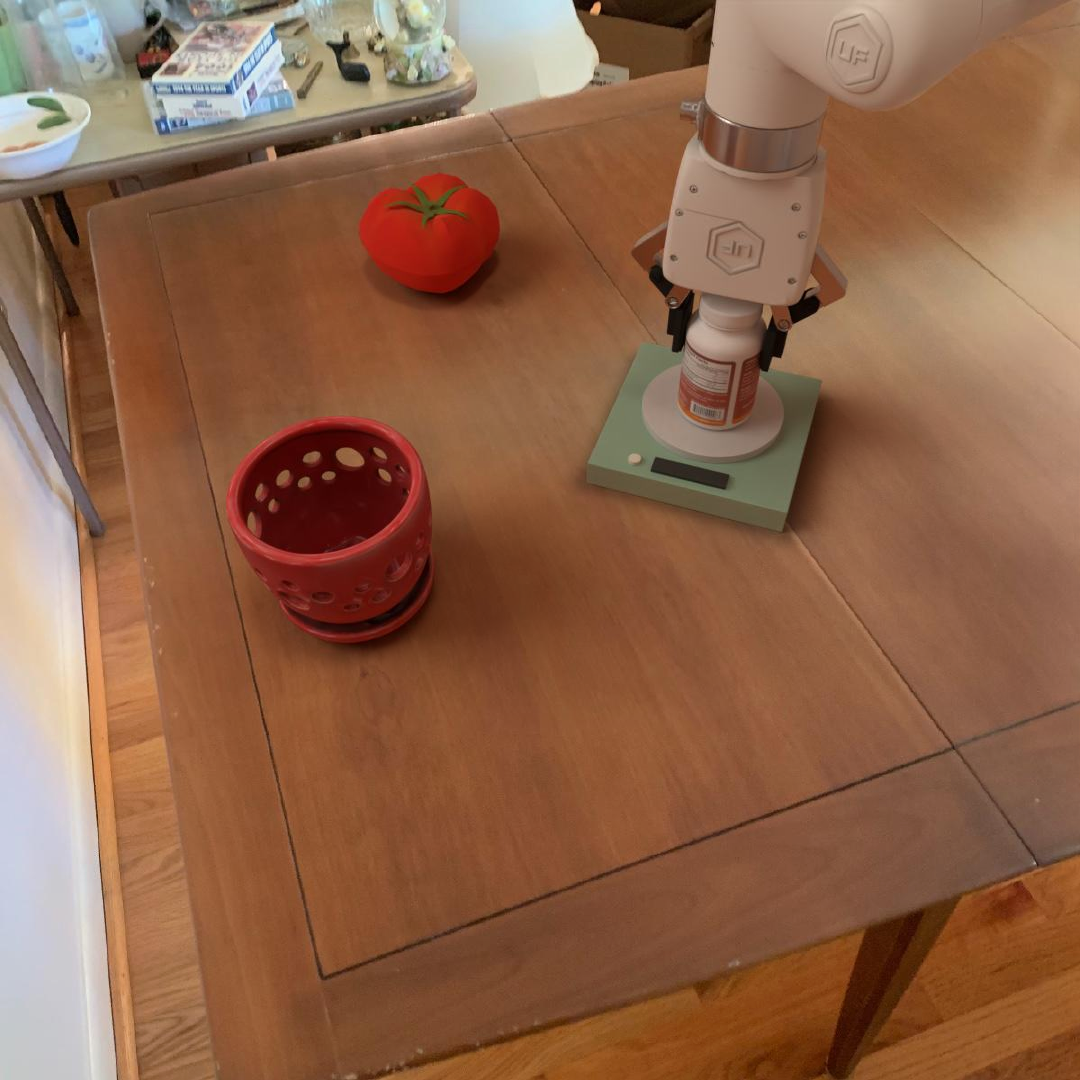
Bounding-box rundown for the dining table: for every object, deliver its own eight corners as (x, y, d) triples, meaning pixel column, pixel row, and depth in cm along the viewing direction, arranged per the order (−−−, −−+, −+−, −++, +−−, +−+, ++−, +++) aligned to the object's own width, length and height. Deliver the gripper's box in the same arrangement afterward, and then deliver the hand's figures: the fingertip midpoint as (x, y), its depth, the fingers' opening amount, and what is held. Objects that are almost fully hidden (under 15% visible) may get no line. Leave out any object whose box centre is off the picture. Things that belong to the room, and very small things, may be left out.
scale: (816, 400, 85) (824, 372, 83) (782, 533, 76) (789, 505, 73) (640, 361, 89) (643, 333, 86) (586, 483, 79) (587, 455, 77)
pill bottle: (735, 376, 83) (756, 264, 74) (764, 425, 79) (789, 313, 70) (666, 389, 82) (679, 277, 73) (691, 439, 78) (708, 327, 69)
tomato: (372, 323, 93) (358, 242, 86) (361, 248, 101) (348, 169, 94) (515, 304, 94) (512, 224, 88) (493, 232, 102) (489, 153, 95)
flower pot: (320, 505, 78) (289, 392, 69) (470, 550, 75) (458, 439, 66) (230, 631, 70) (181, 524, 61) (393, 688, 67) (367, 584, 58)
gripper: (613, 135, 62) (602, 357, 75) (892, 182, 58) (827, 407, 71) (645, 82, 66) (630, 301, 80) (907, 122, 62) (843, 345, 76)
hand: (723, 349), depth 76 cm, fingers closed on pill bottle, 6 cm apart
